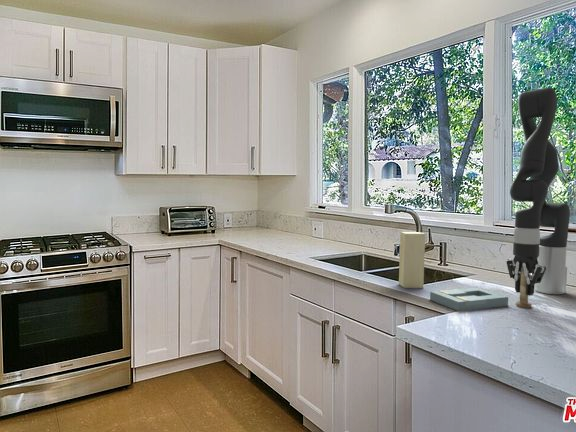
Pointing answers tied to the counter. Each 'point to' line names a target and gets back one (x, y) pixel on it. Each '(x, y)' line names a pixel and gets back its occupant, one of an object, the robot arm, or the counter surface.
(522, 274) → the boss peg
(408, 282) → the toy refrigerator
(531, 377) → the counter surface
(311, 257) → the counter surface
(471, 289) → the keyhole board
